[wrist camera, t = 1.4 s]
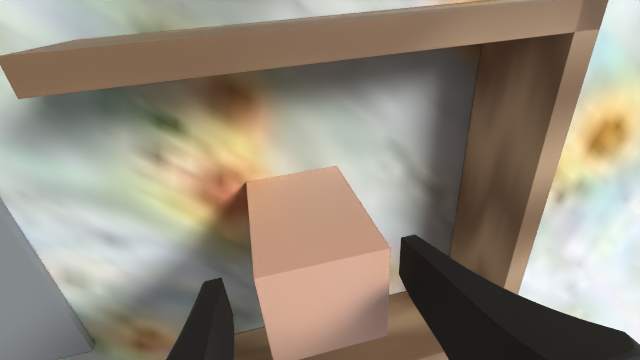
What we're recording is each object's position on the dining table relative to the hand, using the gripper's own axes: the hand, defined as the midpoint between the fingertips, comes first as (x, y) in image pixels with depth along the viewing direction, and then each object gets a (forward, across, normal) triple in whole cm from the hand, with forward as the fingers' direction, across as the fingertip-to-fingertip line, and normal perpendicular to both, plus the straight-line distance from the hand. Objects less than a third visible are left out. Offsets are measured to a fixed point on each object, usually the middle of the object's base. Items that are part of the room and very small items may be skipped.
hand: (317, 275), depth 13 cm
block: (+5, 0, 0) cm, 5 cm away
